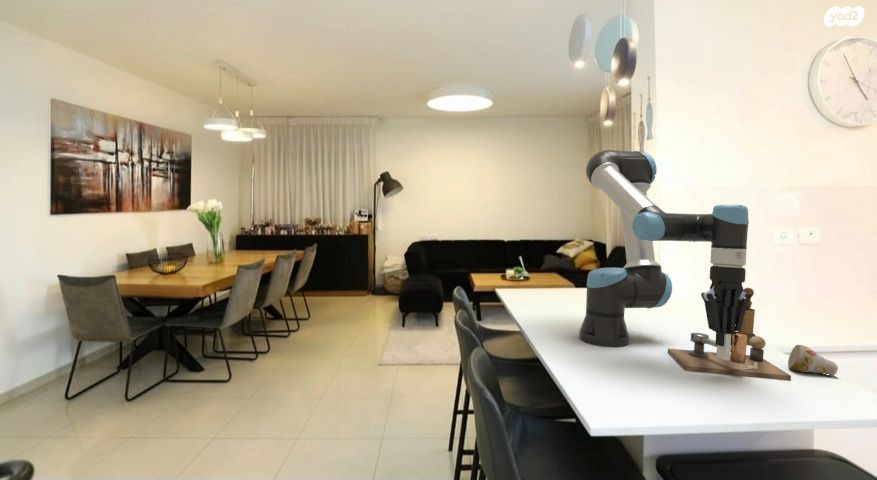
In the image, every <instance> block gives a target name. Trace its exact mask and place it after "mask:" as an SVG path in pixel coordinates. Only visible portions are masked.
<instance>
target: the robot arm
mask: <svg viewBox="0 0 877 480" xmlns="http://www.w3.org/2000/svg"><path fill="white" fill-rule="evenodd" d="M657 170H658V169H657V165H656V161H655V159H654V157H652V155H651V154H650V153H649V154H648V152H643V151H638V150H634V151H633V150H631V151H629V150H613V149H605V150H600V151H598V152H596V153H595V154H594V155H592V156H591V157H590V158H589V160H588V161H587V164H586V168H585V174H586V178H587V180H588V181H589V183H590V184H591V185H592V187H594V188H595V189H597V190H602V192H603V193H604V194H605V195H606V196H607V197H608V198H610V200H611V201H612V202H613V203H614V204H615V205H616V206H617V207H618V208H619V209H620V212H621V221H622V231H623V239H624V241H623V242H624V249H625V259H626V264H625V265H624V266H623V267H600V268H599V267H598V268H595V269H593V270H590V271H589V272H588V275H587V280H586V301H585V302H586V303H585V304H586V305H585V317H584V319H583V320H582V321H583V322H582V323H581V326H580V329H579V331H578V332H579V335H578V336H579V337H578V338H579V339H580V340H581V341H583V342H585V343H589V344H592V345H596V346H601V347H602V346H605V347H624V346H628V345H629V344H630V335H629V332H628V328H627V325H626V321H625V320H626V319H625V309H653V308H654V309H655V308H660V307H663V306H665V305H666V304H667V303H668V301H669V300H670V299H671V296H672V292H673V283H672V282H673V281H672V279H671V277H669V275H668V273H666V272H664V271H662V265H661V264H660V263H658V262H657V261H656V257H655V250H654V242H656V241H657V242H664V241H665V242H689V243H690V242H693V243H696V242H701V243H702V242H703V243H705V242H707V243H708V242H709V243H711V245H710V247H711V249H710V259H709V260H710V262H709V263H710V264H712V265H711V266H710V267H709V280H711V283H710V286H709V290H708V291H706V292H701V293H700V296H701V298H702V299H703V302H704V308H705V313H706V320H707V325H708V329H709V330H711V331H713V332H715V341H716V345H717V347H716V353H717V357H718V358H721V359H723V360H730V354H731V352H730V346H732V337H733V334H734V335H736V334H737V331H740V330H741V326H742V322H743V319H744V315H745V311H746V307H747V304H748V302H749V300H751V299H752V297H751V295H750V294H746V293H745V292H744V291H743V290H744V287H743V283H745V282H746V273H747V271H746V270H747V269H746V268H745V267H744V266H746V265H747V249H748V248H747V247H748V230H749V224H750V221H749V209H748V207H747V206H746V205H742V204H717V205H716V204H715V205H714V206H713V208H712V213H673V212H672V213H671V212H665V211H663V209H661V208H660V207H659V206H658V205H656V204H655V203H654V202H653V200H651V199H650V198H649V197H648V194H647V192H648V191H649V190H650V188H651V187H652V185H651V184H653V182H654V181H655V179H656V174H657Z"/></svg>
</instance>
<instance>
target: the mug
mask: <svg viewBox="0 0 877 480" xmlns="http://www.w3.org/2000/svg"><path fill="white" fill-rule="evenodd" d="M787 366H788V369H790V370H792V371H795V370H796V371H795V372H798V371H801V372H800V373H805V372H814V373H813V374H820V373H825V374H829V375H832V376H831V377H833V376H835V375H836V374H837V373H838V371H839V370H838V369H839V367H838V365H837V363H836V362H835V361H832V360H829V359H826V358H825V357H823V356H822V355H820V354H819V353H817V352H816V351H815V350H813V349H812V348H811V347H808V346H806V345H803V344H796V345H794V347H793V348H792V349H791V352H790V354H789V357H788V361H787Z"/></svg>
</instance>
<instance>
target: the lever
mask: <svg viewBox="0 0 877 480" xmlns="http://www.w3.org/2000/svg"><path fill="white" fill-rule="evenodd" d="M690 342H693V343H700V344H704V345H710V346H712V347H715V348H717V345H716V340H715V339H712V338H710V336H709V334H706V333H702V332H690ZM747 345H748V344H747V335H744V334H739V333H737V334H736V335H734V334H733V337H732V346H730V354H731V357H730V361H731V362H734V363H738V364H745V362H746V355H747Z"/></svg>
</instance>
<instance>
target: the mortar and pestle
mask: <svg viewBox="0 0 877 480" xmlns="http://www.w3.org/2000/svg"><path fill="white" fill-rule="evenodd" d="M743 291H744V292H745V293H746V294H750V295H751V298H752V297H753V296H754V295H755V291H754V290H753V288H751V287H745V288H743ZM752 304H753V302H752V301H751V299H750V300H749V302H748V304H747V307H746V311H745V315H744V319H743V322H742V326H741V330H740V331H736V332H737V333H739V334H744V335H747V345H749V344H750V339H751V338H752V337H754V336H757V335H756V334H755V333H754V325H755V311H756V309H755V308H751V306H752Z"/></svg>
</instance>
